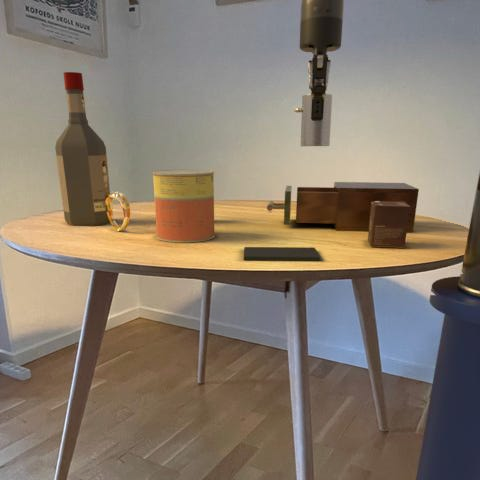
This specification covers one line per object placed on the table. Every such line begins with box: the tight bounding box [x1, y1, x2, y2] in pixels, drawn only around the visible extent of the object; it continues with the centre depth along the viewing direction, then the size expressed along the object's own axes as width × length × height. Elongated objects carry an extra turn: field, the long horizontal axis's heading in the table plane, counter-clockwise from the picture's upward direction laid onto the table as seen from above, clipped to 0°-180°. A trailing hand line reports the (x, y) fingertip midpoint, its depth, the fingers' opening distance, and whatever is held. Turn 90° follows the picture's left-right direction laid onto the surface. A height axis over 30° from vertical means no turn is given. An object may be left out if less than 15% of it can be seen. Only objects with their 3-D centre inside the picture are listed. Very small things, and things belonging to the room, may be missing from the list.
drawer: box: [266, 185, 339, 225], centre depth 103 cm, size 18×12×7 cm
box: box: [367, 201, 410, 249], centre depth 83 cm, size 6×6×7 cm
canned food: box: [152, 169, 216, 244], centre depth 89 cm, size 11×11×12 cm
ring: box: [105, 190, 131, 232], centre depth 94 cm, size 7×3×8 cm, turn 41°
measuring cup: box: [293, 93, 333, 147], centre depth 90 cm, size 7×6×9 cm
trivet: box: [243, 246, 321, 262], centre depth 76 cm, size 12×7×1 cm, turn 89°
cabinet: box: [332, 181, 420, 233], centre depth 101 cm, size 16×14×9 cm
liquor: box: [54, 71, 111, 227], centre depth 100 cm, size 9×9×30 cm
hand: (316, 121), depth 90 cm, fingers closed on measuring cup, 5 cm apart
